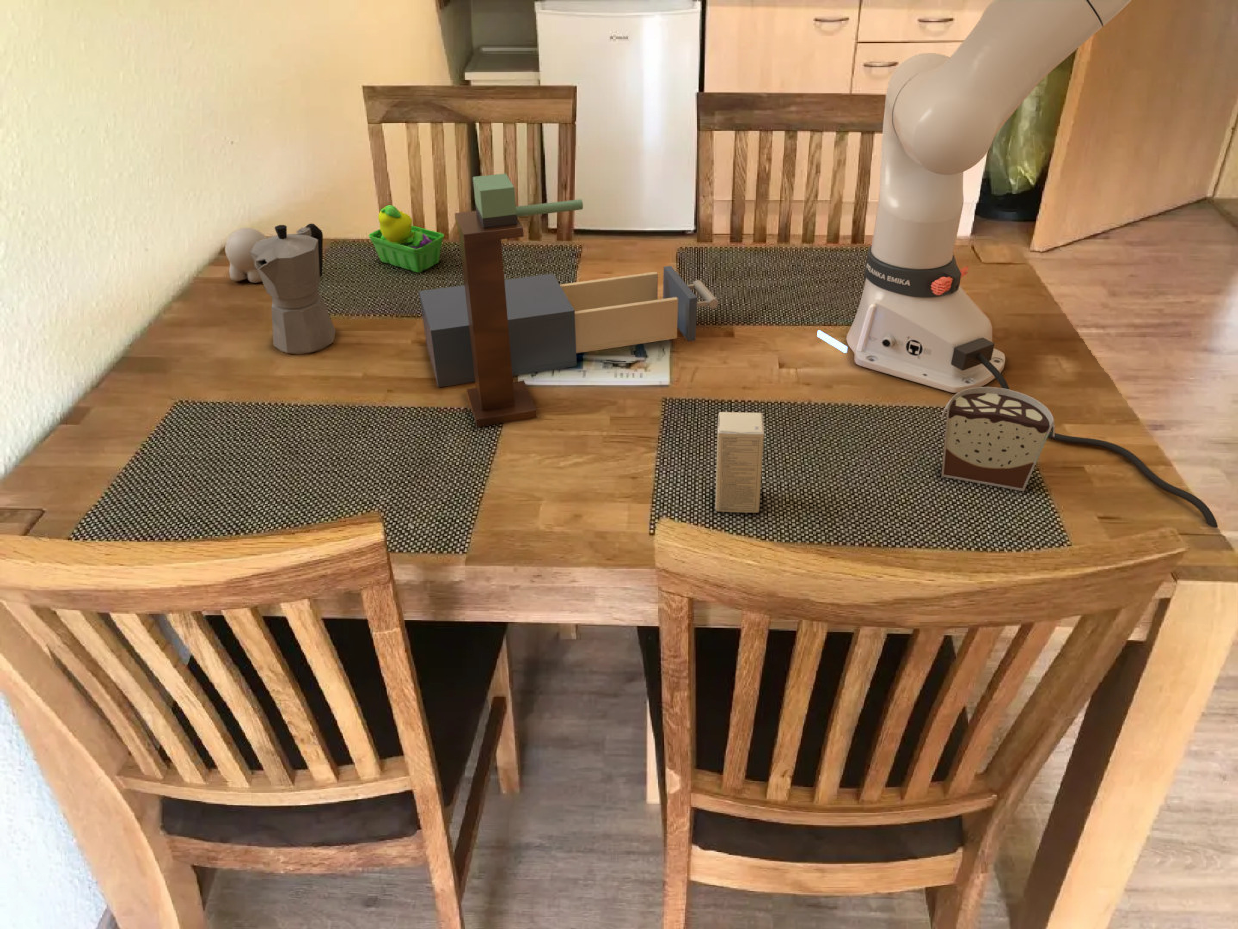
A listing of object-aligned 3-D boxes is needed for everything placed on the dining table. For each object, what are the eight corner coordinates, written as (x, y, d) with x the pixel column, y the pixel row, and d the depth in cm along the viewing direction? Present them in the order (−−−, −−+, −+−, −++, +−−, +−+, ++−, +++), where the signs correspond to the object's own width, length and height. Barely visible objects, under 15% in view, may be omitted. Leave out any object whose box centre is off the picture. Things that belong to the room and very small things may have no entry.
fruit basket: (449, 261, 170) (442, 198, 163) (415, 280, 164) (406, 215, 157) (400, 248, 175) (391, 186, 168) (365, 265, 169) (354, 202, 162)
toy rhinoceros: (293, 289, 161) (282, 240, 156) (224, 285, 163) (212, 236, 158) (310, 271, 167) (300, 223, 162) (244, 267, 168) (232, 220, 164)
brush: (483, 228, 113) (479, 190, 111) (476, 213, 117) (472, 176, 115) (587, 216, 116) (586, 179, 114) (576, 201, 120) (575, 165, 118)
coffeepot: (308, 365, 140) (282, 247, 130) (252, 356, 143) (222, 239, 132) (362, 318, 152) (342, 206, 142) (310, 310, 155) (286, 200, 144)
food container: (1037, 464, 119) (1058, 394, 113) (1037, 493, 114) (1059, 421, 108) (932, 446, 122) (947, 377, 116) (928, 474, 117) (943, 403, 111)
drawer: (695, 303, 153) (697, 262, 149) (722, 336, 144) (725, 293, 140) (554, 323, 148) (551, 281, 144) (572, 358, 139) (571, 315, 135)
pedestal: (524, 387, 135) (510, 204, 120) (537, 417, 128) (524, 228, 113) (466, 396, 133) (445, 212, 118) (476, 427, 127) (455, 236, 111)
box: (758, 491, 115) (765, 412, 108) (759, 514, 111) (766, 433, 105) (713, 489, 115) (718, 410, 109) (712, 512, 112) (717, 431, 105)
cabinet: (556, 326, 149) (553, 273, 144) (576, 366, 139) (574, 310, 134) (426, 345, 145) (418, 290, 140) (438, 387, 135) (430, 330, 130)
